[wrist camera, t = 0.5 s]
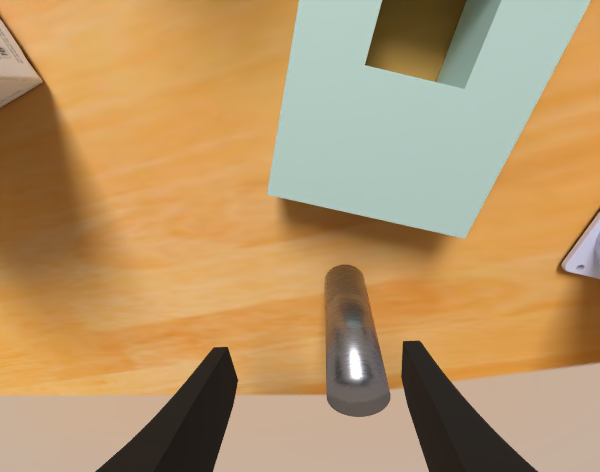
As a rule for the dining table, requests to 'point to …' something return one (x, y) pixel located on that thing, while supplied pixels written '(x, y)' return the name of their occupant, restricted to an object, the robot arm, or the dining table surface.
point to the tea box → (14, 69)
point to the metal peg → (352, 346)
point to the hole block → (412, 111)
